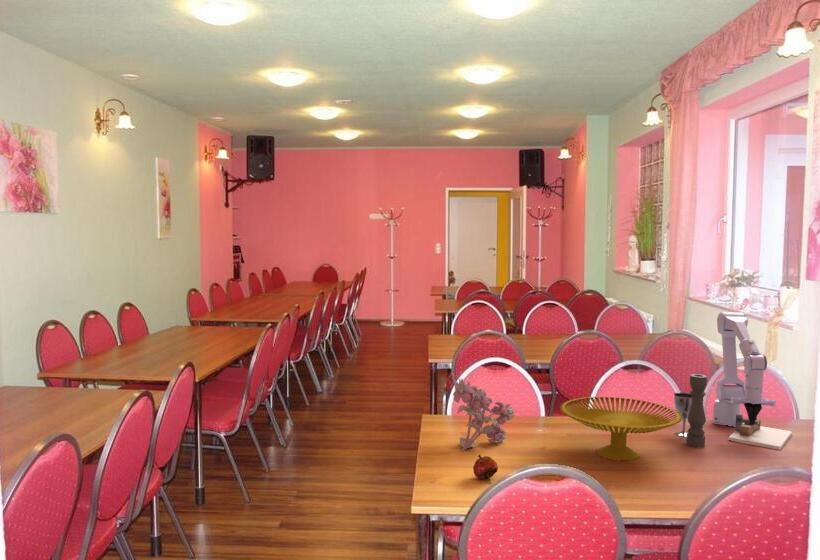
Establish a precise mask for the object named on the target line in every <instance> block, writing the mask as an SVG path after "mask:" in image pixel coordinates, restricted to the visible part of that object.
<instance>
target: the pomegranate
mask: <svg viewBox="0 0 820 560" xmlns="http://www.w3.org/2000/svg"><path fill="white" fill-rule="evenodd" d="M477 457H478V458H477V459H476V460H475V462H474V464H473V467H472V468H473V470H472V471H473V474H474V476H475V477H476V478H477V479H478V480H483V479H488V480H489V482H490V484H492V481H491V479H490V478H491V477H493V476H494V475H496V473H497V472H498V469H499V467H498V464H497V462H496V460H494V459H493V457H490V456H487V455H484V456H481V454H479V455H477Z"/></svg>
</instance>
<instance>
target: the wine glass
mask: <svg viewBox="0 0 820 560" xmlns="http://www.w3.org/2000/svg"><path fill="white" fill-rule="evenodd" d="M691 404H692V396H691V394H690V392H681V391H680V392H675V393H673V405H674V410H676V411H677V412H678V413H681V414H680V415H682V416H683V417H682V420H681V422H682V431H674V432H673V435H674V436H676V437H679V436H680V437H681V438H687V434H688V431H686V422H687V421H688V420H687V419H688V414H689V411H690V407H691Z"/></svg>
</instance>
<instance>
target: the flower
mask: <svg viewBox="0 0 820 560" xmlns="http://www.w3.org/2000/svg"><path fill="white" fill-rule="evenodd" d="M453 386H454V392H453V393H452V395H453V400H454V402H456V403H457V404H459V403H460V401H462V403H464V404H466V405H464V404H463V405H459V407H458V409H457V414H460V412H463V411H464V412H466V416H469V417H468V423H467V424H466V425H465V427H467V434H466V437H463V436H462V437H459V444H460V445H461V447H462V449H461V451H462V452H464V451H465V450H467V449H469V448H473V449H474V448H475V445H476V444H475V443H476V442H475V441H476V440H477V439H478V438H479V437H480V435H481V434H484V435H486V437H487V438H488V439H487V440H488V442H489V443H495V442H498V443H499V444H503V443H504V440H508V438H507V434H508V432H507V431H505V430H504V429H503V427H502V425H504V424H505V423H506V422H507V421H512V419H513V418H514V417H515V416H516V415H515V414H516V413H517V411H515V408H513V407H510V406H511V405H512V404H511V403H507V404H505V405H504V403H503V402H502V401H496V402H494V404H495V405H493V407H492V408H490V406H491V404H492V403H493V399H492V398H491V397H489V396H487V392H486V389H485V388H478V386H477V385H476V384H475V385H473V386H472V385H471V381H469V380H468V381H467V383H466V381H464V379H463V378H458V381H454V385H453ZM486 412H489V413H490V414H489V415H487V416H486ZM494 415H495V416H498V417H497V418H494ZM472 416H473V417H474V418H472ZM489 422H492V423H491V424H488V423H489ZM484 423H485V424H488V425H484V427H483V424H484ZM472 428H474V429H475V431H474V433H472V435H471V437H470V433H471V430H472Z"/></svg>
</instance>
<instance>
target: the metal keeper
mask: <svg viewBox="0 0 820 560" xmlns="http://www.w3.org/2000/svg"><path fill="white" fill-rule="evenodd" d="M759 420H760V419H759ZM759 420H755V425H758V424H759ZM743 423H749V418H748V417H747V418H746V417H744V414H741V413H740V414H737V415H736V426H735V427H734V428H735V429H734V432H735V431H739V432H740V426H741V425H743ZM749 424H750V423H749Z"/></svg>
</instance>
